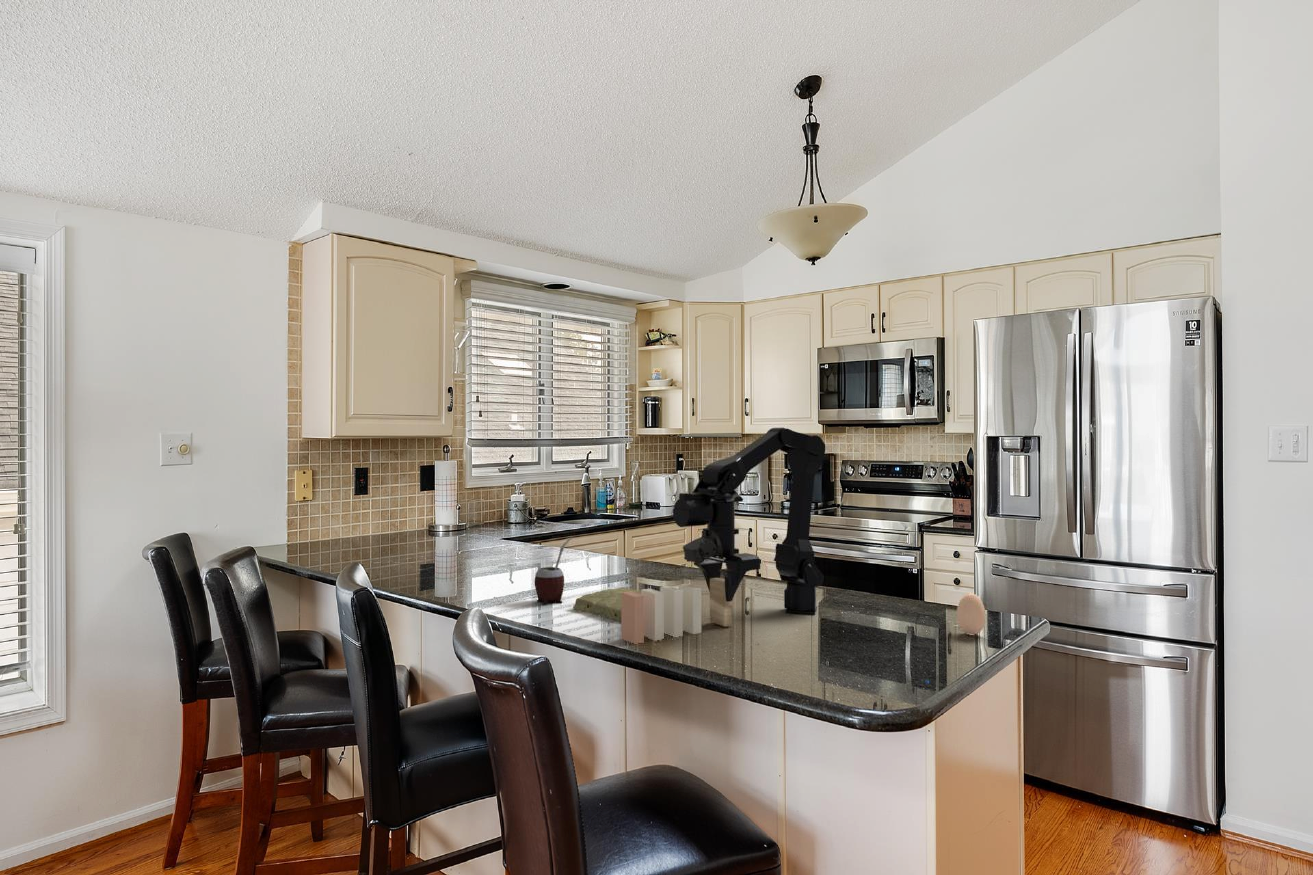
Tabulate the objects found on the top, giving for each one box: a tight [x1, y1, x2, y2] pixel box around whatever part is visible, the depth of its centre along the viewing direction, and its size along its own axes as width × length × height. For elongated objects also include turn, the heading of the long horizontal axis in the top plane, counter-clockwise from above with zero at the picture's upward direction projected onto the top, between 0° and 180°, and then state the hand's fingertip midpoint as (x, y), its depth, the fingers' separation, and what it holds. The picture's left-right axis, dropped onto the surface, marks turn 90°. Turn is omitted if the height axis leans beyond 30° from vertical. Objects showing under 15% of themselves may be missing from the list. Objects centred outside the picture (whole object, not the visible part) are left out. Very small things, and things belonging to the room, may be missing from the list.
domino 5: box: [709, 577, 733, 628], centre depth 150 cm, size 2×5×9 cm, turn 33°
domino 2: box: [641, 588, 665, 642], centre depth 141 cm, size 2×5×9 cm, turn 33°
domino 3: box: [659, 585, 684, 638], centre depth 143 cm, size 2×5×9 cm, turn 33°
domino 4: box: [678, 583, 702, 635], centre depth 146 cm, size 2×5×9 cm, turn 33°
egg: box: [956, 592, 987, 635], centre depth 142 cm, size 5×5×8 cm
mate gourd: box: [534, 537, 572, 606], centre depth 172 cm, size 8×8×15 cm
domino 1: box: [620, 591, 645, 645], centre depth 138 cm, size 2×5×9 cm, turn 33°
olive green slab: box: [572, 586, 642, 621], centre depth 164 cm, size 19×20×4 cm
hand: (721, 599), depth 150 cm, fingers closed on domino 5, 5 cm apart
